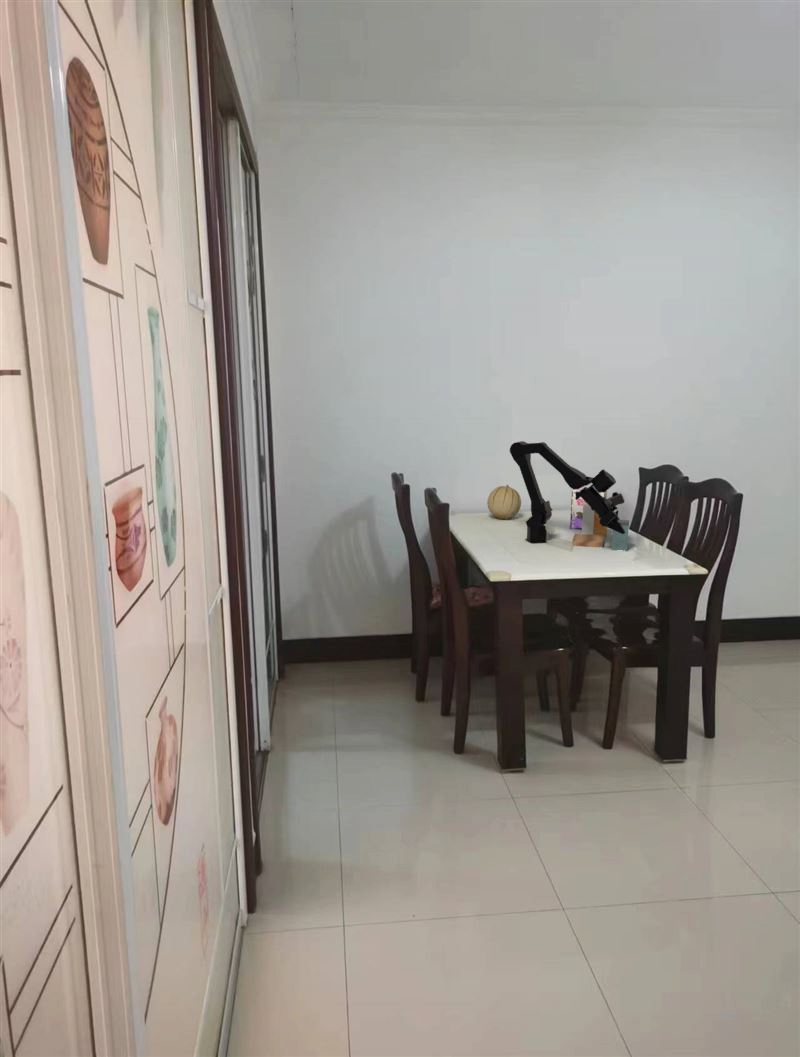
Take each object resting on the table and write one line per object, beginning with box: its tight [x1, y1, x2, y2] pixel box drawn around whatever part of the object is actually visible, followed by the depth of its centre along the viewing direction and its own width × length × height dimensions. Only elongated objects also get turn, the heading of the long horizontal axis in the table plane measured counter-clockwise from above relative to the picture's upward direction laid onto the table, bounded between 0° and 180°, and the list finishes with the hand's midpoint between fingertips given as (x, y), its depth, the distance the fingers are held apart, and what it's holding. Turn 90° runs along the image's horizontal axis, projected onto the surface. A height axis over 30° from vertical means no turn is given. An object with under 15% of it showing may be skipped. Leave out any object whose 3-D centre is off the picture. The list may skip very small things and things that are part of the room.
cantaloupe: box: [487, 484, 522, 520], centre depth 351 cm, size 15×15×15 cm
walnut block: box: [572, 533, 605, 549], centre depth 302 cm, size 11×11×3 cm
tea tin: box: [611, 519, 630, 552], centre depth 292 cm, size 6×6×10 cm
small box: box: [581, 503, 608, 537], centre depth 315 cm, size 8×6×13 cm
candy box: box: [569, 488, 608, 530], centre depth 329 cm, size 14×6×16 cm, turn 68°
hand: (624, 531), depth 291 cm, fingers closed on tea tin, 5 cm apart
